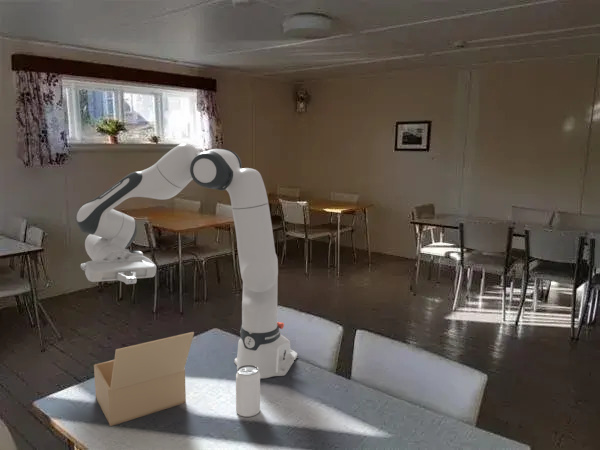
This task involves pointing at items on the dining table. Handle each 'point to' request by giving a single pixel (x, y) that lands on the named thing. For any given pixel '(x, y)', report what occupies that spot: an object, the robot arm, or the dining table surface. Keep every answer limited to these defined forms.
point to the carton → (136, 395)
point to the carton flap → (150, 360)
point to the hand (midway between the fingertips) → (131, 281)
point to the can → (248, 391)
